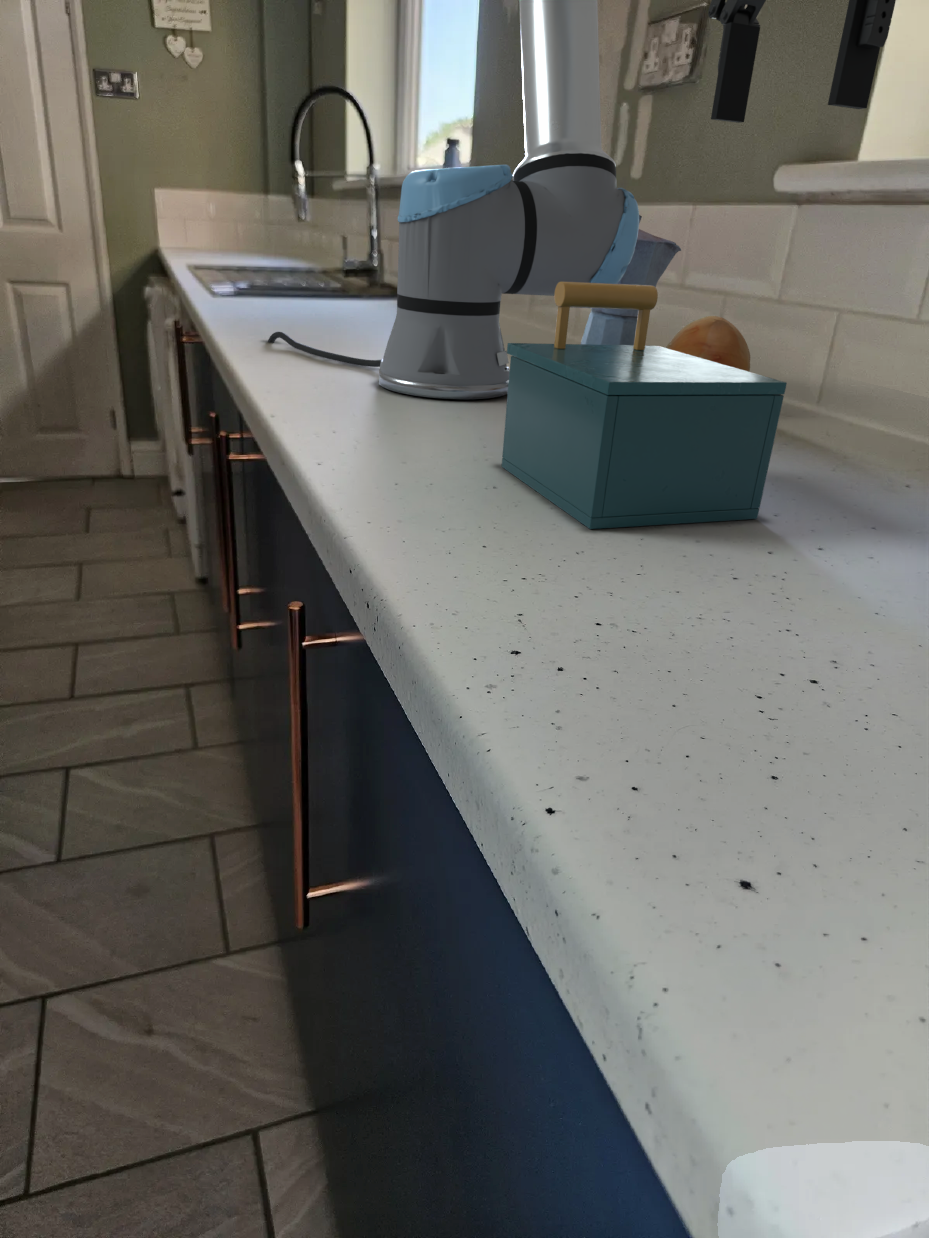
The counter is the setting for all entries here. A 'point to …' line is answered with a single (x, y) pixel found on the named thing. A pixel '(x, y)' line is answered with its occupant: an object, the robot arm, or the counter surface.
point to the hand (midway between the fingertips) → (781, 115)
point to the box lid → (633, 352)
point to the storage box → (637, 450)
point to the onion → (713, 342)
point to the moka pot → (641, 270)
